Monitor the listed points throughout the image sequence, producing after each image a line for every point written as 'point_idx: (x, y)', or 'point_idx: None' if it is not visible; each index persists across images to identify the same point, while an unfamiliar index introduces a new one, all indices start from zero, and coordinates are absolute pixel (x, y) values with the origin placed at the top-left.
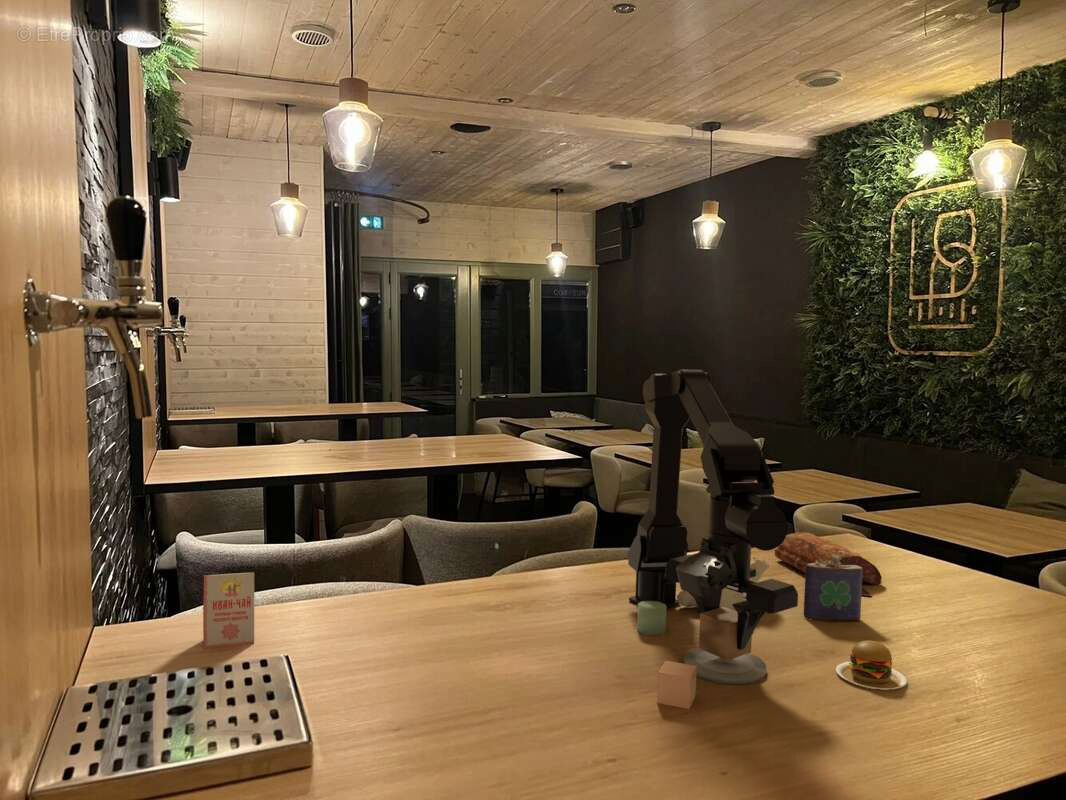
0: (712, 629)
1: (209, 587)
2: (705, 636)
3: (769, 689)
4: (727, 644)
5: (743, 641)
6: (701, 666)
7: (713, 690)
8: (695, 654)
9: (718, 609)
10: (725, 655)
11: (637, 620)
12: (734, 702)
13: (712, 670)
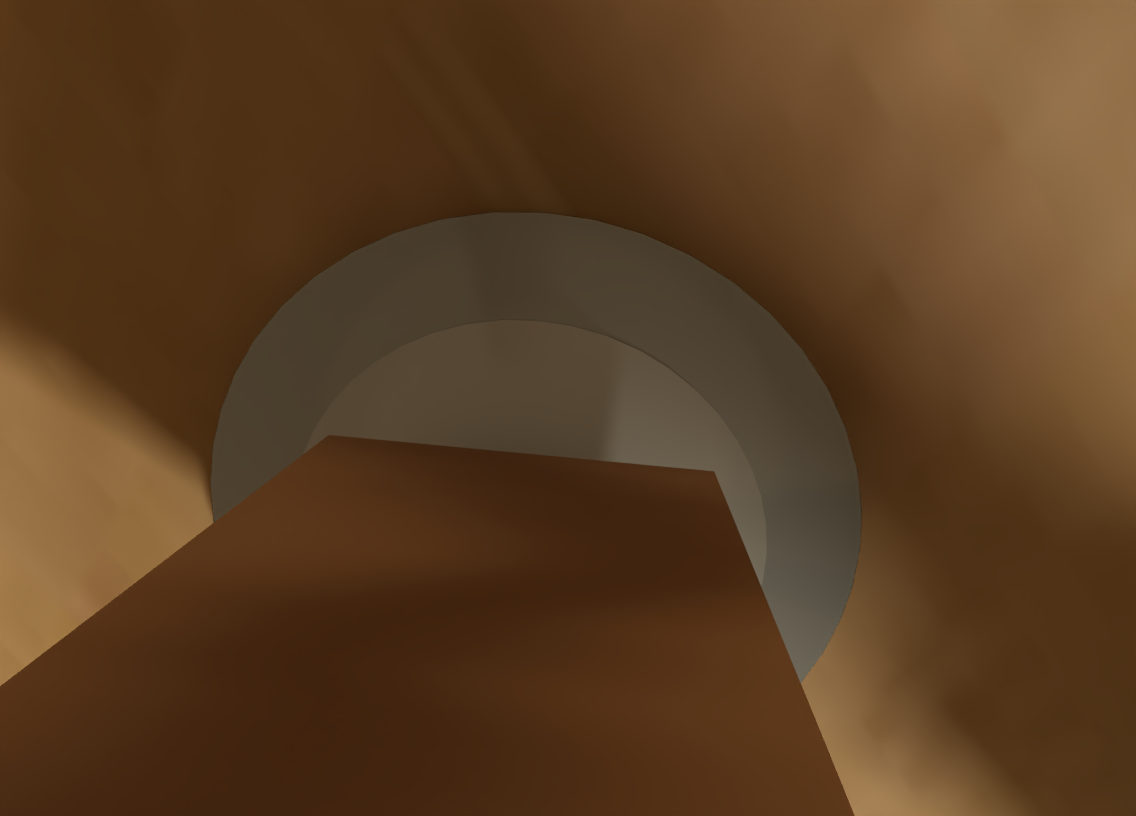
0: (475, 642)
1: None
2: (631, 551)
3: (115, 452)
4: (229, 516)
5: None
6: (587, 325)
7: (290, 83)
8: (781, 503)
9: None
10: (333, 451)
11: None
12: (36, 25)
13: (463, 322)
